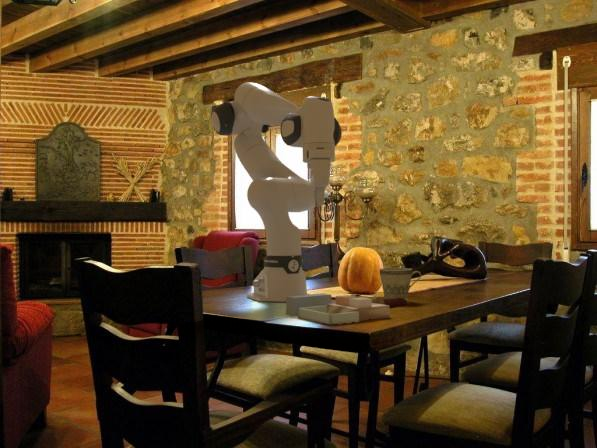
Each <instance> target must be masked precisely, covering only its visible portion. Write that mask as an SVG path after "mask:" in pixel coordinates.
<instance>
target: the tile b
mask: <svg viewBox="0 0 597 448" xmlns="http://www.w3.org/2000/svg"><path fill="white" fill-rule="evenodd" d="M349 306H351V307H356V308H364V307H372V299H370V298H363V297H360V298H349Z"/></svg>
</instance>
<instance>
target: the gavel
mask: <svg viewBox="0 0 597 448" xmlns="http://www.w3.org/2000/svg"><path fill="white" fill-rule="evenodd" d="M349 295H350V296H357V298H360V297H363V298H370V299H372V303H376V304H383V305H389V306H390V308H393V307H402V306H406V305H409V304H410V301H409V300H408V299H407V300H405V299H403V298H384V297H382V296H378V295H377V296H376V295H373V296H365V295H361V294H358V293H352V294H349Z"/></svg>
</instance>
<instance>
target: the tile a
mask: <svg viewBox="0 0 597 448" xmlns="http://www.w3.org/2000/svg"><path fill="white" fill-rule="evenodd" d="M350 295H351V294H347V295H336V296H335V303H336V304H339V305H349V298H357V296H350Z"/></svg>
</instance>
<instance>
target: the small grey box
mask: <svg viewBox="0 0 597 448" xmlns="http://www.w3.org/2000/svg"><path fill="white" fill-rule="evenodd" d="M308 294H309V295H296V296H286V301H285V307H286V308H285V315H286V316H287V315H288V316H293V317H298V308H304V307H315V306H326V307H327V304H332V294H329V293H313V294H312V293H311V294H310V293H308Z"/></svg>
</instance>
